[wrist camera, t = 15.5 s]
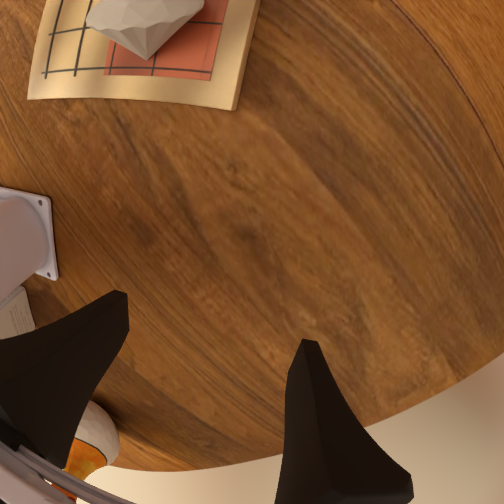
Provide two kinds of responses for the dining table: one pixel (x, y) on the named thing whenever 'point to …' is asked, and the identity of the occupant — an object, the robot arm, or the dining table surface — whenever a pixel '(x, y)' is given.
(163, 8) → the gemstone
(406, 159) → the dining table surface
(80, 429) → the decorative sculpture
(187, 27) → the board
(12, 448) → the robot arm
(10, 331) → the product box
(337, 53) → the dining table surface
